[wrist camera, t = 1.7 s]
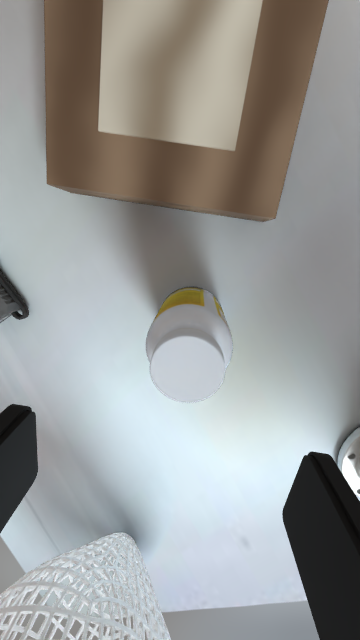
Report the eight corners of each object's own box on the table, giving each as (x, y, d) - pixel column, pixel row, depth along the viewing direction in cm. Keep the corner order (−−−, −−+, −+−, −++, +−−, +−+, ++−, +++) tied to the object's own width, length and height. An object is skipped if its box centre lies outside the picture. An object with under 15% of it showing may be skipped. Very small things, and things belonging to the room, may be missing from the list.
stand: (326, -51, 18) (362, -135, 14) (262, 221, 23) (276, 218, 19) (74, -83, 18) (39, -172, 14) (71, 192, 24) (45, 183, 20)
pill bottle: (148, 310, 27) (112, 361, 16) (197, 271, 25) (195, 297, 14) (186, 355, 28) (178, 431, 17) (235, 321, 26) (261, 380, 15)
